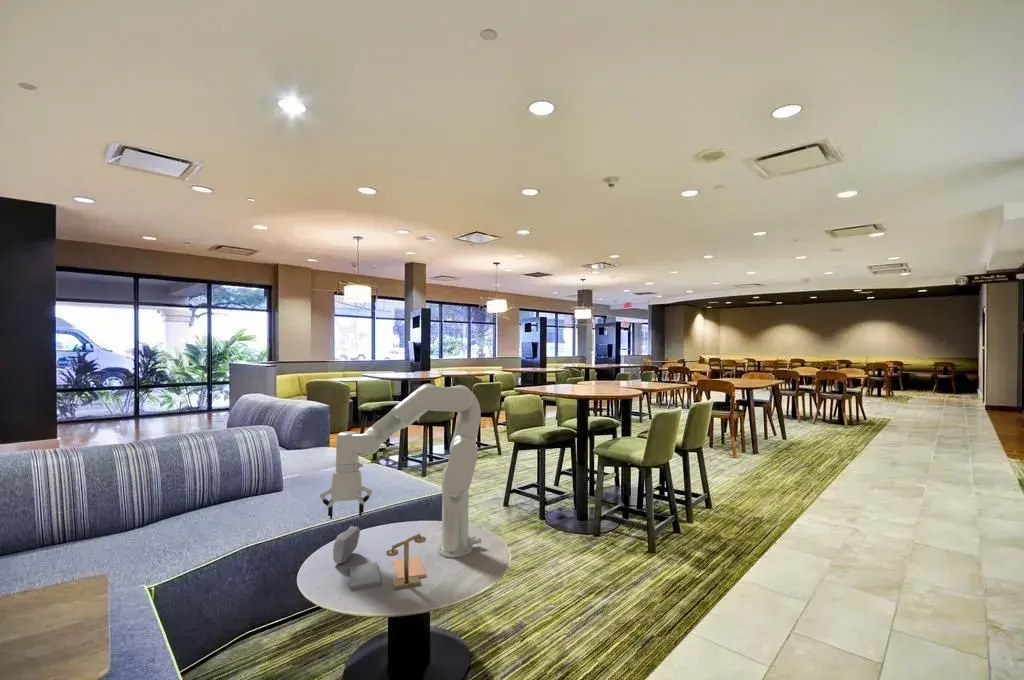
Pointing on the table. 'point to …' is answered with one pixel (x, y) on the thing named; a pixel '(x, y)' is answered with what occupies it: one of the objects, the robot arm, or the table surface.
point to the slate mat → (364, 576)
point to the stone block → (345, 544)
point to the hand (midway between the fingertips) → (345, 516)
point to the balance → (406, 563)
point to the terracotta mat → (414, 567)
